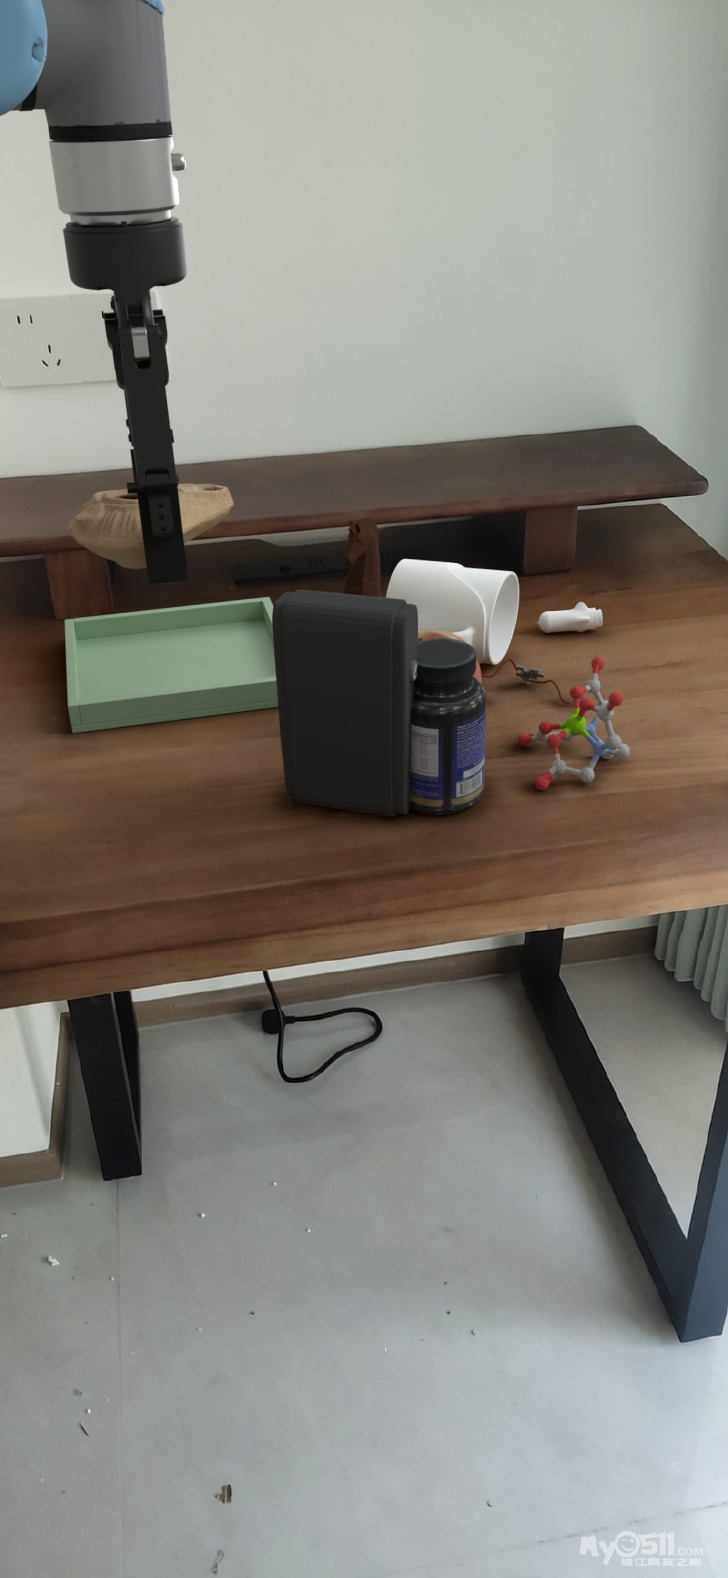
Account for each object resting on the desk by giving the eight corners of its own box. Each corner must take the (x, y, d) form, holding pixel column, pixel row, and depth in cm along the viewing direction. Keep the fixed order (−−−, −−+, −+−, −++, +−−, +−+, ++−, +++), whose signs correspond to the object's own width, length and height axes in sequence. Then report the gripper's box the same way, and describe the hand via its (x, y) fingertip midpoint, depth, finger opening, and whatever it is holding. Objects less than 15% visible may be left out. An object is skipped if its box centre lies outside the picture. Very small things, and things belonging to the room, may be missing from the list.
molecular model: (608, 735, 90) (617, 645, 86) (638, 789, 83) (649, 694, 79) (514, 740, 89) (519, 650, 86) (536, 795, 83) (543, 700, 79)
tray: (72, 733, 92) (67, 706, 91) (68, 643, 107) (64, 619, 106) (306, 703, 96) (304, 676, 94) (271, 620, 110) (269, 596, 109)
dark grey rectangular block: (424, 794, 83) (424, 594, 75) (408, 825, 80) (407, 619, 72) (302, 777, 86) (290, 582, 78) (282, 806, 82) (267, 605, 75)
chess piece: (327, 626, 109) (322, 521, 104) (358, 608, 112) (355, 505, 107) (368, 636, 107) (365, 529, 101) (398, 617, 110) (397, 513, 105)
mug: (417, 626, 108) (417, 542, 104) (517, 639, 105) (521, 553, 101) (370, 681, 98) (368, 591, 94) (478, 697, 95) (481, 605, 91)
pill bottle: (472, 768, 86) (475, 629, 80) (493, 812, 81) (499, 666, 75) (388, 777, 85) (386, 637, 79) (405, 823, 80) (404, 676, 74)
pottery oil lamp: (266, 541, 88) (247, 472, 81) (128, 625, 85) (97, 560, 79) (206, 476, 92) (183, 405, 86) (72, 554, 89) (39, 487, 83)
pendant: (479, 648, 96) (478, 663, 99) (468, 697, 95) (467, 710, 97) (577, 667, 95) (574, 681, 98) (567, 716, 94) (564, 729, 96)
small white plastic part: (539, 620, 109) (545, 588, 108) (602, 636, 107) (609, 603, 106) (527, 630, 106) (534, 597, 105) (592, 647, 104) (599, 613, 103)
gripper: (196, 231, 66) (231, 606, 78) (169, 198, 84) (200, 505, 96) (60, 239, 65) (116, 619, 76) (62, 203, 83) (107, 514, 95)
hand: (163, 555), depth 86 cm, fingers closed on pottery oil lamp, 9 cm apart
